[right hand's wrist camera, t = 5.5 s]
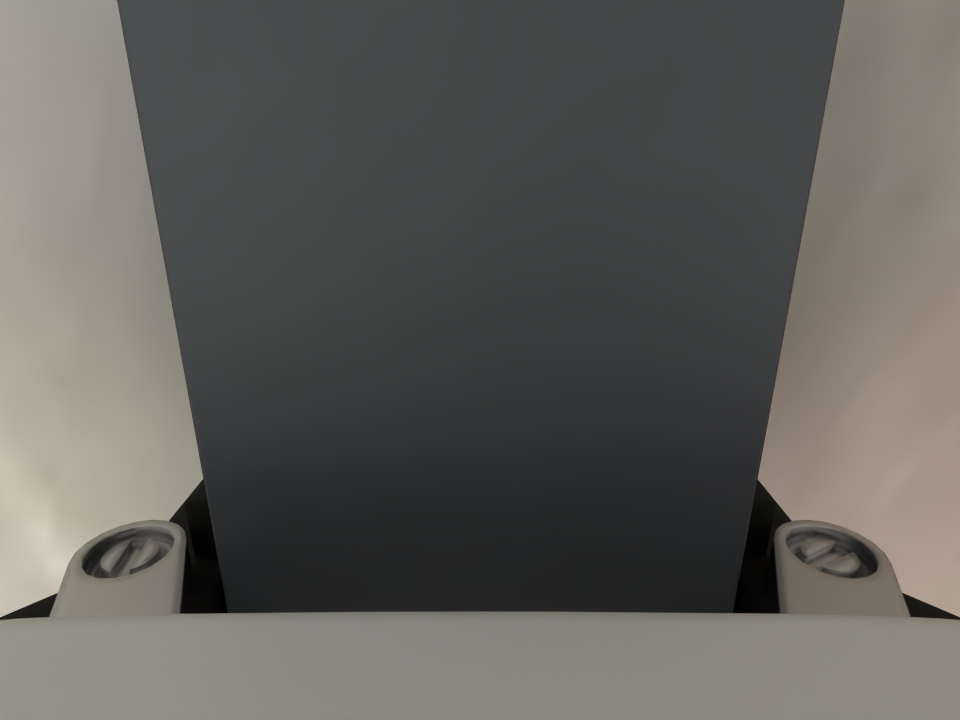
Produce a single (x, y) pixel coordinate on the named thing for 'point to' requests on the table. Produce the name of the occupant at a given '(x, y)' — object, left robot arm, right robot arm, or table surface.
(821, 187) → the table surface
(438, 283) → the post
